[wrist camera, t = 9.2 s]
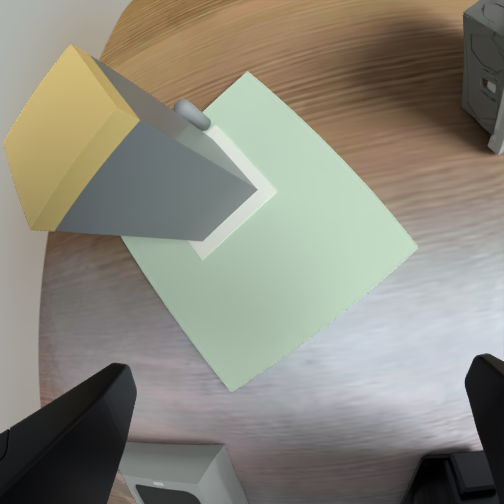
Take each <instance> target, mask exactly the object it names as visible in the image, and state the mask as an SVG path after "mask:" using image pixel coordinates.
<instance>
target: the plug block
mask: <svg viewBox="0 0 504 504" xmlns="http://www.w3.org/2000/svg"><path fill="white" fill-rule="evenodd" d="M3 145H4V148H5V152H6V156H7V160H8V163H9V167H10V171H11V174H12V178H13V181H14V184H15V187H16V190H17V194H18V197H19V199H20V203H21V205H22V208H23V211H24V214H25V217H26V219H27V222H28V225H29V227H30V230H40V231H56V232H71V233H87V234H102V235H118V236H133V237H147V238H162V239H177V240H191V241H204V240H205V239H206V238H207V237H208V236H209V235H210V234H211V233H212V232H213V231H214V230H215V229H216V228H217V227H218V226H219V225H221V224H222V223H223V222H224V221H225V220H226V219H227V218H228V217H229V216H230V215H231V214H232V213H233V212H234V211H236V210H237V209H238V208H239V207H240V206H241V205H242V204H243V203H244V202H245V201H246V200H247V199H248V198H250V197H251V196H252V195H253V194H254V193H255V192H256V191H257V190H258V189H257V188H256V187H255V186H254V185H253V184H252V183H251V181H250V180H249V179H248V178H247V177H246V176H245V175H244V173H243V172H242V171H241V170H240V169H239V168H238V167H237V166H236V164H235V163H234V162H233V161H232V160H231V159H230V158H229V157H228V156H227V154H226V153H225V152H224V151H223V150H222V149H221V148H220V147H219V146H218V144H217V143H216V142H215V141H214V140H213V139H212V138H210V137H209V136H208V135H206V134H205V133H204V132H202V131H201V130H200V129H198V128H197V127H195V126H194V125H193V124H191V123H190V122H188V121H187V120H186V119H184V118H183V117H182V116H180V115H179V114H177V113H176V112H174V111H173V110H172V109H170V108H169V107H167V106H166V105H165V104H163V103H162V102H160V101H159V100H157V99H156V98H154V97H153V96H152V95H150V94H149V93H147V92H146V91H144V90H143V89H141V88H140V87H138V86H137V85H135V84H134V83H132V82H131V81H129V80H128V79H126V78H125V77H123V76H122V75H120V74H119V73H117V72H116V71H114V70H113V69H111V68H109V67H108V66H106V65H105V64H103V63H102V62H100V61H98V60H97V59H95V58H94V57H92V56H90V55H89V54H87V53H86V52H84V51H82V50H81V49H79V48H78V47H76V46H74V45H73V44H71V45H70V46H69V47H68V48H67V49H66V50H65V52H64V53H63V54H62V55H61V57H60V58H59V59H58V60H57V62H56V63H55V64H54V66H53V67H52V68H51V69H50V71H49V72H48V73H47V75H46V76H45V78H44V79H43V80H42V82H41V83H40V85H39V86H38V88H37V89H36V91H35V92H34V93H33V95H32V96H31V98H30V99H29V101H28V102H27V104H26V105H25V107H24V108H23V110H22V112H21V113H20V115H19V116H18V118H17V120H16V121H15V123H14V125H13V126H12V128H11V130H10V131H9V133H8V135H7V137H6V139H5V141H4V142H3Z"/></svg>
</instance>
